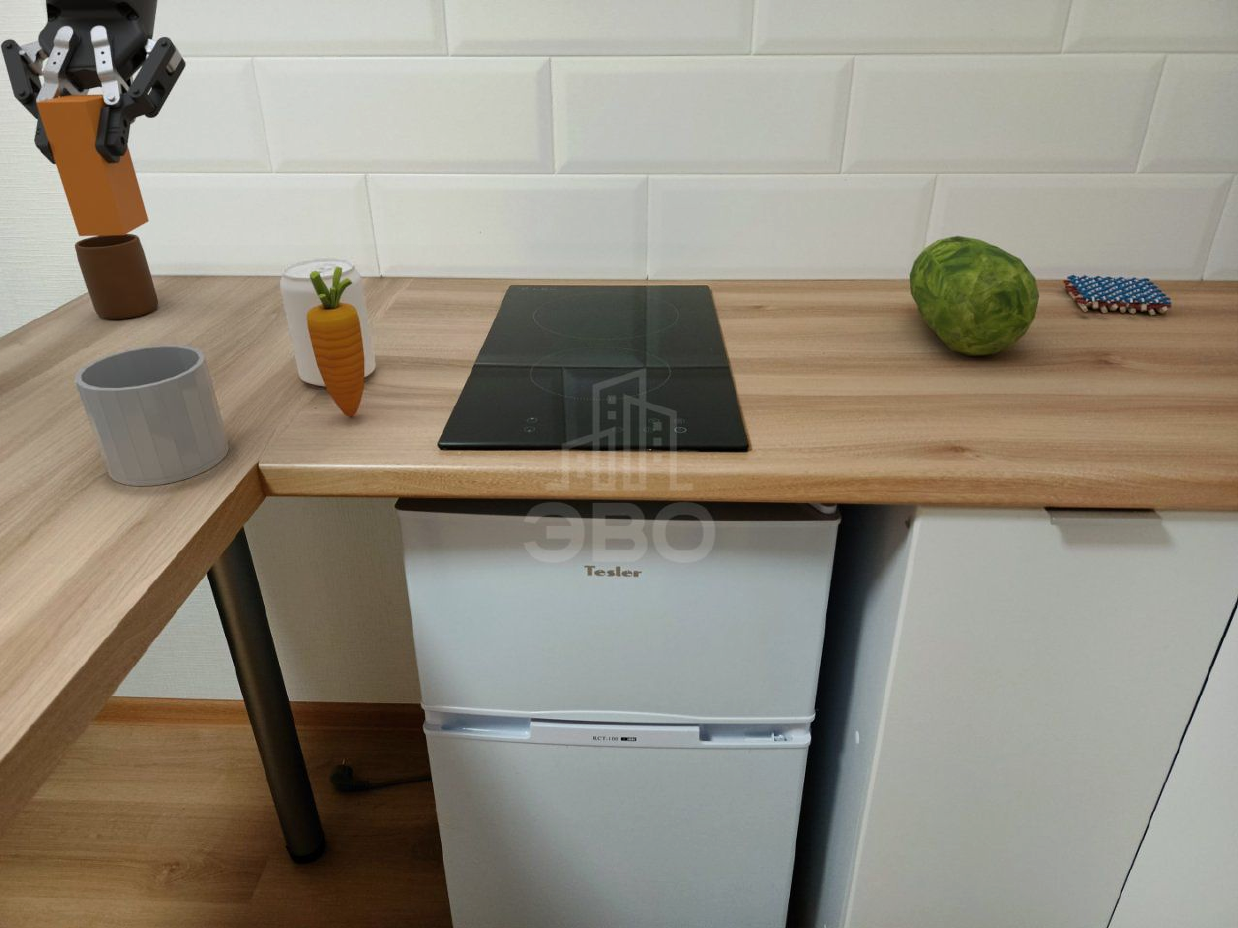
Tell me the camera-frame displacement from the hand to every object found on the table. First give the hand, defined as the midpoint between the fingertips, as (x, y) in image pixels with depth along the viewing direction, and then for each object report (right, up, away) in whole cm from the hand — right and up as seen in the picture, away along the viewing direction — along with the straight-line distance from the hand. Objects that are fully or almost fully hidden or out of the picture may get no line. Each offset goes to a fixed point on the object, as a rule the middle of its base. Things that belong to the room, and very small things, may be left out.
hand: (79, 156), depth 66 cm
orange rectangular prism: (0, -4, +5) cm, 6 cm away
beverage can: (+11, -14, +28) cm, 33 cm away
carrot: (+15, -19, +19) cm, 31 cm away
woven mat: (+106, -3, +45) cm, 115 cm away
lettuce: (+82, -8, +36) cm, 90 cm away
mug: (-24, -3, +50) cm, 55 cm away
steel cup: (+1, -23, +12) cm, 26 cm away
